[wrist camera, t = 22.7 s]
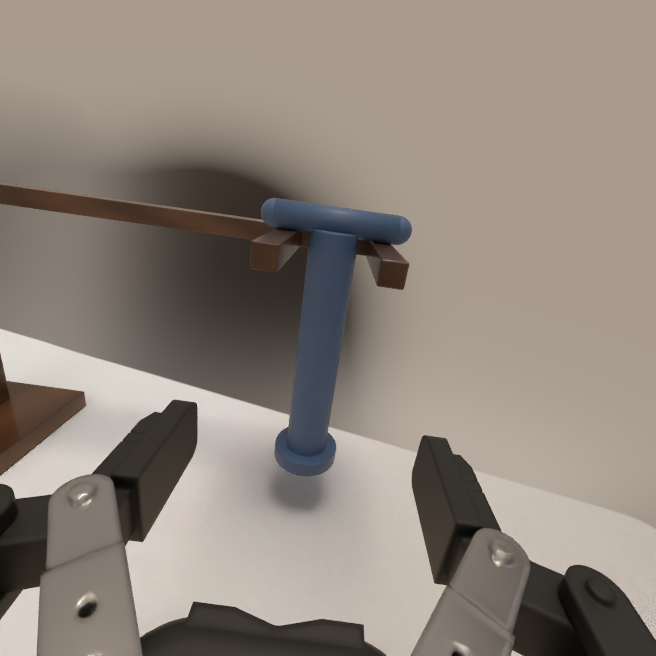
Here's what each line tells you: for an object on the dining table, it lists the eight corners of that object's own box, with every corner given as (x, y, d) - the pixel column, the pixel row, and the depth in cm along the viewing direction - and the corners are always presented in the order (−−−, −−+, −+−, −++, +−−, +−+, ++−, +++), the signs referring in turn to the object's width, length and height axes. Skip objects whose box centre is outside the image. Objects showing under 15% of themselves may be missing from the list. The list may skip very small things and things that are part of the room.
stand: (342, 440, 33) (382, 224, 26) (342, 573, 21) (413, 248, 14) (-42, 387, 33) (-107, 155, 26) (-254, 493, 21) (-479, 121, 14)
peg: (364, 484, 24) (422, 220, 18) (238, 467, 24) (252, 196, 18) (361, 442, 28) (407, 215, 22) (253, 427, 28) (270, 196, 22)
